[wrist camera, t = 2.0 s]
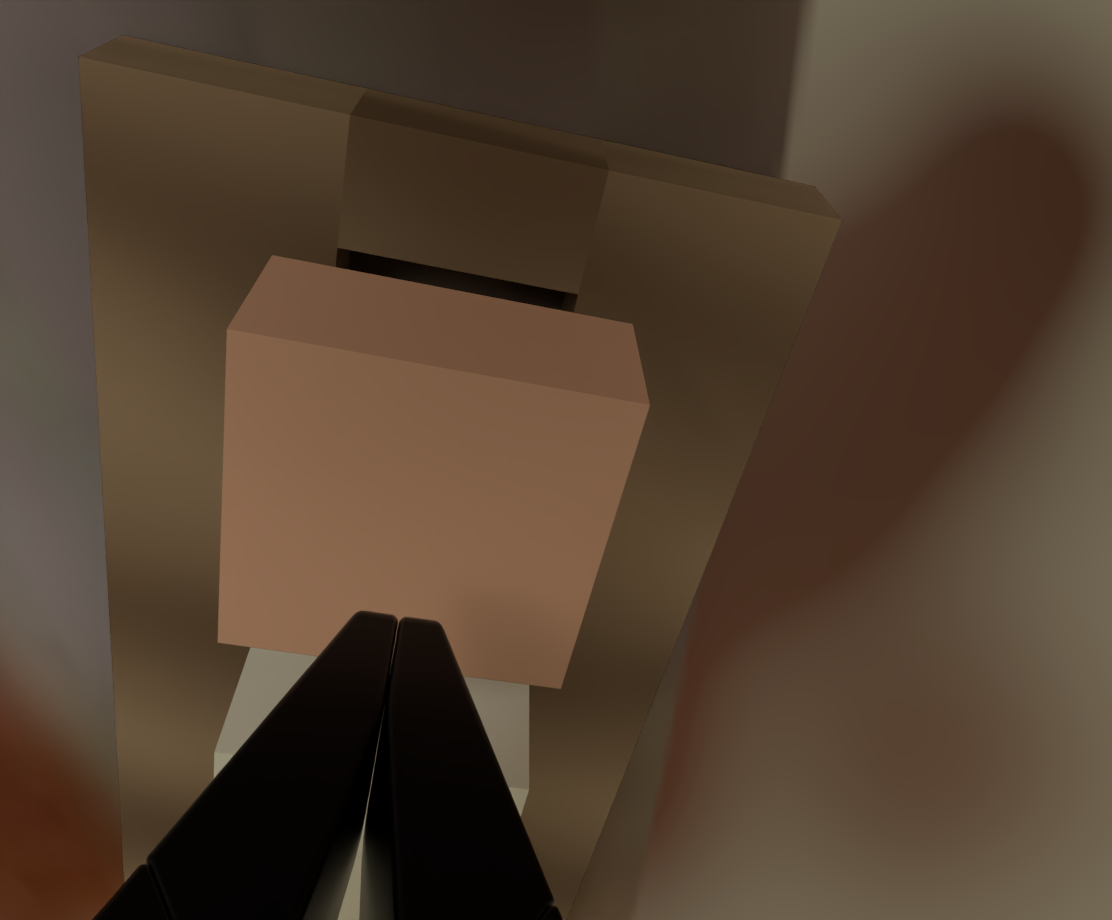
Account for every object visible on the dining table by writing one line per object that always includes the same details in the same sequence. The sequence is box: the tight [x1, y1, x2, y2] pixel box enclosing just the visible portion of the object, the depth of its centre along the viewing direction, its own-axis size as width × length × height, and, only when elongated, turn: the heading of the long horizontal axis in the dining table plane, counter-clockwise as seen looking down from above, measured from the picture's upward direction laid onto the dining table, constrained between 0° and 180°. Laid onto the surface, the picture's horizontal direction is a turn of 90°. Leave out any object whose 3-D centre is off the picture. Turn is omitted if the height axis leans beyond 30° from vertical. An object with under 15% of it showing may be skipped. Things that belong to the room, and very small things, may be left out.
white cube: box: [214, 647, 529, 920], centre depth 16 cm, size 4×4×4 cm
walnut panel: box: [78, 35, 842, 920], centre depth 18 cm, size 20×10×2 cm, turn 168°
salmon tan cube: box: [218, 255, 650, 689], centre depth 12 cm, size 4×4×4 cm
